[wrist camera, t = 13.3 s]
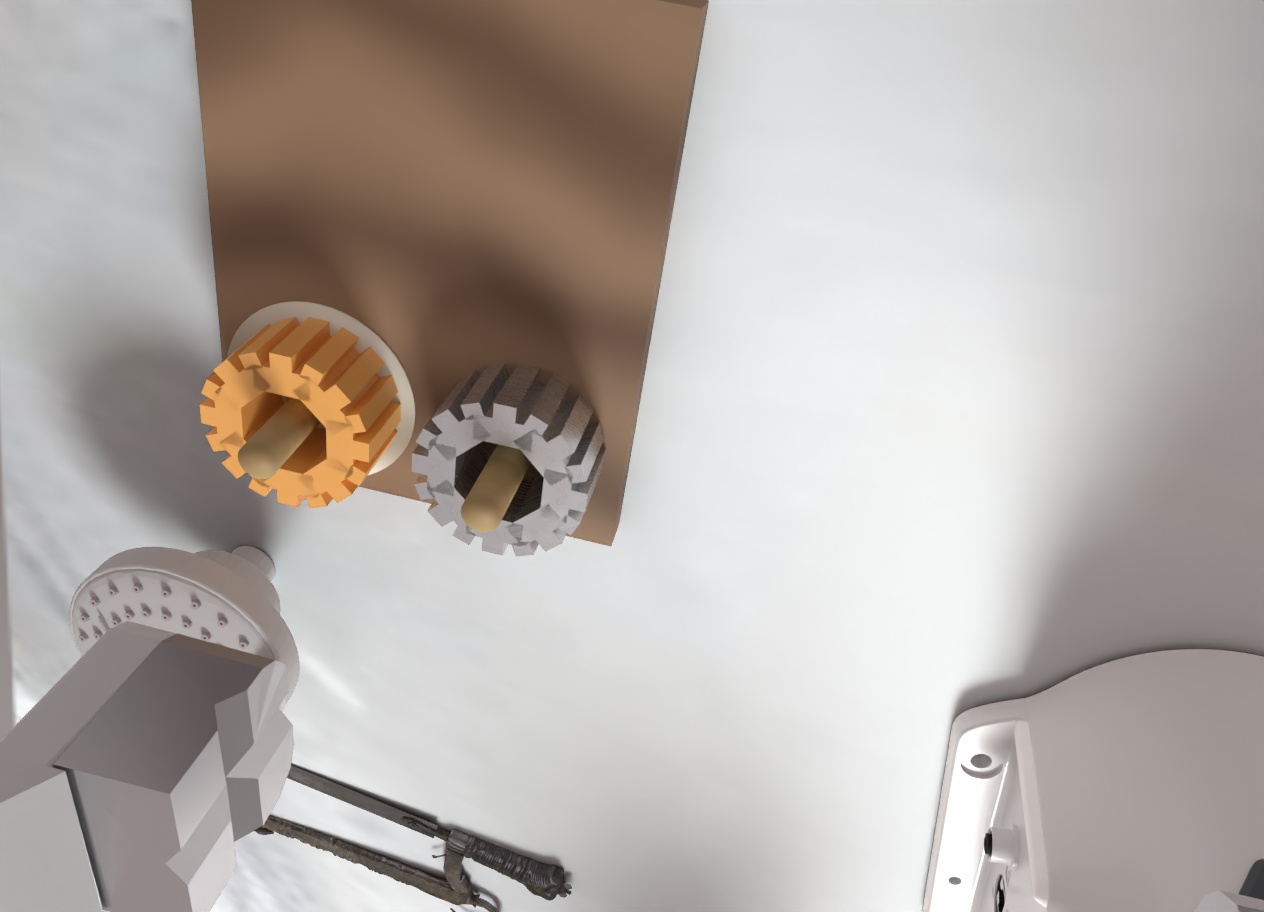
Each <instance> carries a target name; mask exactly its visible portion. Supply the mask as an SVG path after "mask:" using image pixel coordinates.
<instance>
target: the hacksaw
mask: <svg viewBox="0 0 1264 912" xmlns="http://www.w3.org/2000/svg"><path fill="white" fill-rule="evenodd" d="M287 778H289V779H291V780H294V781H296V782H298V783H301V784H303V785H306V786H308V787H311V788H313V789H315V790H318V791H320V792H323V793H325V794H328V795H330V796H332V797H335V798H337V799H340V800H342V801H345V802H347V803H349V804H352V805H354V806H357V807H359V808H361V809H364V810H366V811H369V812H371V813H374V814H376V815H378V816H381V817H383V818H386V819H388V820H391V821H393V822H395V823H398V824H400V825H403V826H405V827H408V828H410V829H412V830H415V831H417V832H420V833H422V834H425V835H427V836H429V837H432V838H434V836H436V837H438V838H440V839H442V840H444V841H447V843H446V847H448V851H447V854H444V855H440V856H434V855H432V856H433V858H437V857H441V856H446V858H445V863H444V871H445V875H446V879H447V881H445V880H443V879H440V878H434V877H432V876H430V875H429V874H427V873H424V872H422V871H419V870H417V869H414V868H412V867H409V866H406V865H401V864H400V863H399V862H397V861H394V860H391V859H388V858H387V857H385V856H380V855H379V854H378V855H377V854H375V853H373V852H370V851H368V850H365V849H362V848H360V847H356V846H354V845H352V844H349V843H345V842H344V841H342V840H339V839H334V837H332V836H327V835H324V834H322V833H320V832H317V831H315V830H312V829H309V828H306V827H303V826H300V825H297V824H294V823H291V822H289V821H285V820H282V819H279V818H276V817H272V816H268V818H267V820H266V821H265V823H264V825H263V826H261V827H259V828H258V829H256V830H254V831H256V832H257V833H258V834H262V835H267V834H274V832H273V831H275V832H277V833H279V834H281V835H285V836H286V837H291V838H296V839H298V840H300V841H301V842H303V843H308V844H310V845H311V846H314V847H316V848H317V849H323V850H326V851H330V852H332V853H333V854H334V856H339V857H340V858H343V859H344V858H345V859H346V860H348V861H351V862H353V863H354V864H356V863H360V864H362V865H364V866H366V867H367V868H368V869H369V870H372V871H373V870H374V871H375V872H378V873H379V874H384V875H387V876H389V877H392V878H394V879H395V880H396V881H398V882H399V881H401V882H402V883H405V884H406V885H412V886H414V887H416V888H418V889H420V890H421V891H423V892H426V893H428V894H430V895H432V896H435V897H437V898H440V899H443V900H445V901H448V902H450V903H452V904H455V905H460V904H471V905H473V906H474V907H476V905H477V906H480V907H483V908H485V909H487V910H488V911H489V912H499V911H498V910H497V909H496V908H495V907H494V906H493V905H492V904H490V903H489V902H487V901H485V900H483V899H481V898H479V896H480V894H477V895H474V893H473V891H472V889H471V883H469V882H468V881H467V880H466V878H465V876H464V874H462V870H461V863H462V860H463V857H464V856H465V857H466V858H472V859H473V860H474V861H476V862H478V863H480V864H482V865H484V866H487V867H489V868H491V869H494V870H496V871H498V872H499V873H501V874H503V875H506V876H509V877H510V878H511V879H515V880H517V881H518V882H520V883H522V884H524V885H525V886H526V887H527V889H528V890H529V891H530V892H532V893H533V894H534V895H538V896H542V897H543V898H545V899H546V900H553V899H554V898H555V897H556V895H557V894H559V895H560V897H564V898H565V897H566V896H567V895H566V893H567V894H569V895H570V894H571V891H569V889H572V887H571V885H569V884H564V883H563V873H564V870H563V869H560V868H558V867H556V866H554V865H552V866H549V865H545V864H542V863H540V862H537V861H534V860H532V859H529V858H524V857H523V856H521V855H517V854H515V853H514V852H511V851H508V850H506V849H503V848H501V847H498V846H495V845H493V844H490V843H488V842H486V841H483V840H479V839H478V838H476V837H475V836H470V835H467V834H465V833H463V832H461V831H459V830H456V829H453V830H452V831H451V833H450V832H447V831H445V830H442V829H440V828H438V825H435V824H433V823H431V822H428V821H426V820H424V819H421V818H419V817H418V816H413V815H411V814H409V813H406V812H404V811H402V810H399V809H397V808H395V807H392V806H390V805H387V804H384V803H382V802H380V801H377V800H375V799H373V798H370V797H368V796H365V795H363V794H361V793H358V792H355V791H353V790H351V789H348V788H346V787H344V786H341V785H339V784H336V783H334V782H332V781H329V780H326V779H324V778H322V777H319V776H317V775H314V774H312V773H310V772H307V771H304V770H303V769H300V768H297V767H295V766H293V765H291V768H290V770H289V773H288V776H287ZM450 909H451V910H452V911H453V912H455V911H454V910H453V909H452V908H450Z"/></svg>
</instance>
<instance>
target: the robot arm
mask: <svg viewBox="0 0 1264 912" xmlns="http://www.w3.org/2000/svg"><path fill="white" fill-rule="evenodd" d="M289 691H290V690H289V683H288V676H287V668H286V664H283V663H281V662H279V661H276V660H273V659H269V658H266V657H262V656H258V655H255V654H251V653H247V652H244V651H240V650H236V649H233V648H229V647H225V646H222V645H218V644H214V643H211V642H207V641H204V640H200V639H196V638H193V637H189V636H185V635H182V634H178V633H177V634H176V633H172V632H169V631H165V630H161V629H157V628H153V627H150V626H146V625H142V624H138V623H134V622H131V621H126V622H124V623H121V624H119V625H117V626H115V627H113V628H111V629H109V630H108V631H107V632H106V633H105V634H104V635H103V636H102V637H101V638H100V639H99V640H98V641H97V642H96V643H95V644H94V645H93V646H92V647H91V648H90V649H89V650H88V651H87V652H86V653H85V654H84V655H83V656H82V657H81V658H80V659H79V661H78V662H77V663H76V664H75V665H74V666H73V667H72V668H71V669H70V670H69V671H68V672H67V673H66V674H65V675H64V676H63V677H62V678H61V679H60V680H59V681H58V682H57V683H56V684H55V685H54V686H53V687H52V688H51V689H50V690H49V691H48V693H47V694H46V695H45V696H44V697H43V698H42V699H41V700H40V701H39V702H38V703H37V704H36V705H35V706H34V707H33V708H32V709H31V710H30V711H29V712H28V713H27V714H26V715H25V716H24V717H23V718H22V719H21V720H20V721H19V722H18V723H17V725H16V726H15V727H14V728H13V729H12V730H11V731H10V732H9V733H8V734H7V735H6V736H5V737H4V738H3V739H2V740H1V741H0V912H103V910H106V911H110V912H210V910H211V908H212V907H213V905H214V904H215V902H216V900H217V899H218V897H219V896H220V894H221V892H222V891H223V889H224V888H225V886H226V884H227V883H228V881H229V880H230V878H231V876H232V875H233V873H234V872H235V870H236V868H237V860H236V853H235V845H234V842H235V841H236V840H238V839H240V838H242V837H243V836H245V835H247V834H249V833H251V832H252V831H254V830H256V829H258V828H259V827H261V826H263V825H264V823H265V821H266V820H267V818H268V816H269V815H270V813H271V811H272V810H273V808H274V806H275V805H276V803H277V801H278V800H279V797H280V795H281V792H282V789H283V787H284V784H285V781H286V778H287V776H288V773H289V770H290V768H291V761H292V754H293V747H294V738H293V725H292V724H291V723H290V721H289V720H288V719H287V718H286V716H285V715H284V714H283V713H282V711H281V710H280V709H279V708H278V707H279V706H280V704H281V703H282V701H283V700H284V698H285V697H286V695H287V694H288V692H289ZM976 754H984V755H976ZM923 912H1264V657H1263V656H1258V655H1253V654H1248V653H1242V652H1235V651H1226V650H1212V649H1181V650H1167V651H1157V652H1151V653H1144V654H1139V655H1134V656H1129V657H1125V658H1121V659H1117V660H1114V661H1110V662H1107V663H1104V664H1101V665H1098V666H1095V667H1093V668H1090V669H1088V670H1085V671H1083V672H1081V673H1078V674H1076V675H1074V676H1072V677H1070V678H1068V679H1066V680H1064V681H1062V682H1060V683H1058V684H1056V685H1055V686H1053V687H1051V688H1049V689H1047V690H1045V691H1042V692H1040V693H1038V694H1035V695H1033V696H1030V697H1027V698H1021V699H1014V700H1008V701H1002V702H997V703H991V704H987V705H982V706H978V707H975V708H972V709H969V710H967V711H965V712H963V713H961V714H960V715H959V716H958V717H957V718H956V719H955V721H954V722H953V725H952V730H951V736H950V742H949V748H948V755H947V761H946V767H945V773H944V780H943V786H942V792H941V798H940V804H939V811H938V817H937V823H936V829H935V835H934V842H933V848H932V854H931V860H930V867H929V873H928V879H927V885H926V891H925V898H924V905H923Z"/></svg>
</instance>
